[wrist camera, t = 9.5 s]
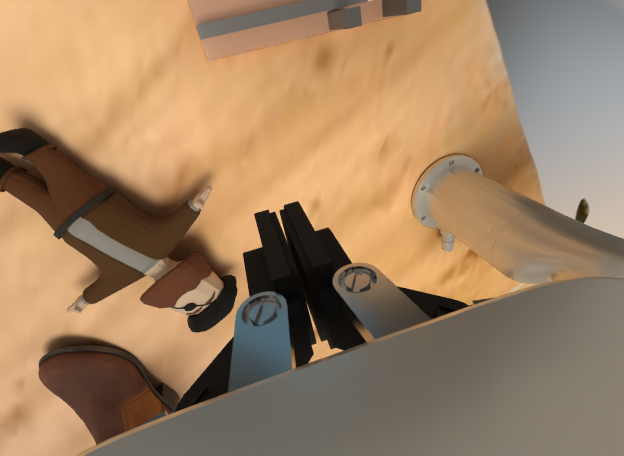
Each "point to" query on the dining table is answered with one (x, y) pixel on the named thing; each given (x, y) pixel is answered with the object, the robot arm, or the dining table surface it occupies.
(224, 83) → the dining table surface
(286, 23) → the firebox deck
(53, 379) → the boot
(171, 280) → the toy
